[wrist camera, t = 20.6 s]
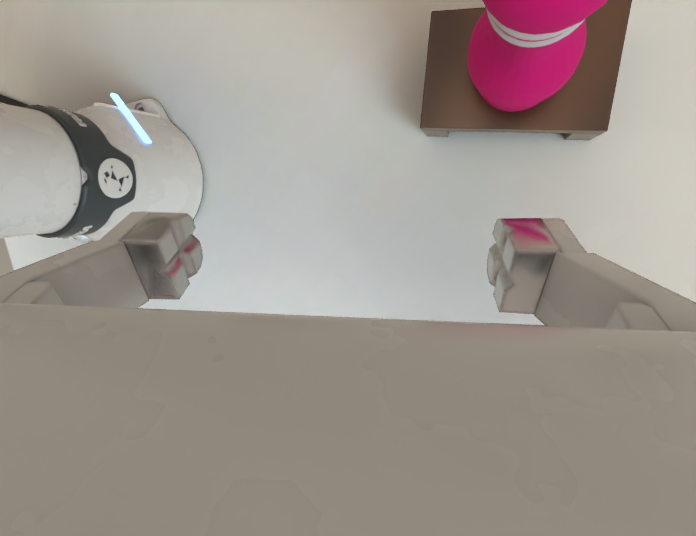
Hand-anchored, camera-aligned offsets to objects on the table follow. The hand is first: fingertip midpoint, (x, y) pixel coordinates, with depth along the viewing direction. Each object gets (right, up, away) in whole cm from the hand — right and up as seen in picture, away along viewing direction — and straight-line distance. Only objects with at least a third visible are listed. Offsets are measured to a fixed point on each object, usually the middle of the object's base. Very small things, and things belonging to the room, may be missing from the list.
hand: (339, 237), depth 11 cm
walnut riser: (+15, +16, +24) cm, 33 cm away
